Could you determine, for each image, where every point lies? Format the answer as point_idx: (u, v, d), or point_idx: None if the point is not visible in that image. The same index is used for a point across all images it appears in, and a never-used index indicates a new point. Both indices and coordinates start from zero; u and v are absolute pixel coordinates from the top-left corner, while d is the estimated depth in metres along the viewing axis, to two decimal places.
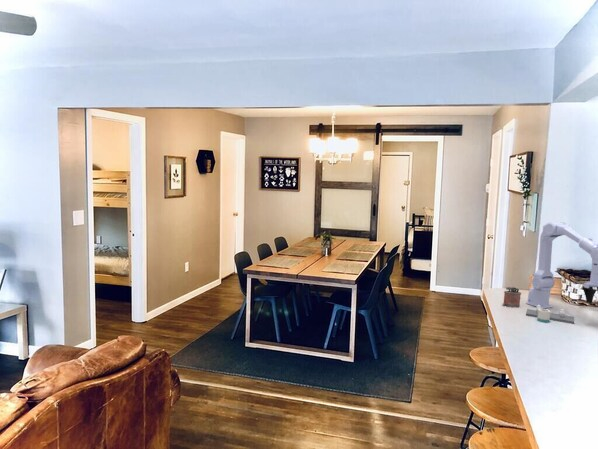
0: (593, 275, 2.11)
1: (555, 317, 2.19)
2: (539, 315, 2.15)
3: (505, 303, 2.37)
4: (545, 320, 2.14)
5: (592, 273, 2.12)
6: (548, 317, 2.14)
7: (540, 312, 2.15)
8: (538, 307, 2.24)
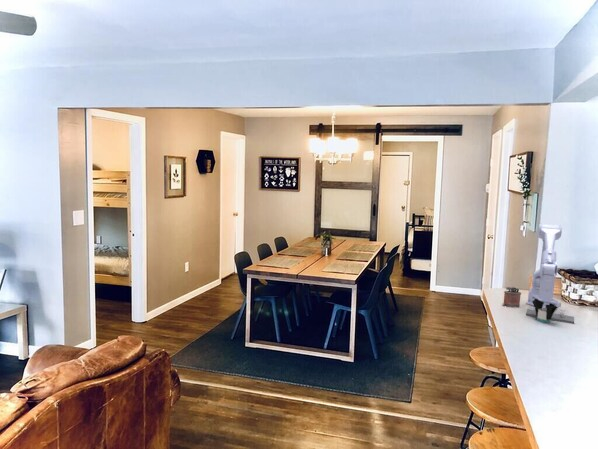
0: None
1: (555, 317, 2.19)
2: (539, 315, 2.15)
3: (505, 303, 2.37)
4: (545, 320, 2.14)
5: None
6: None
7: (540, 312, 2.15)
8: None
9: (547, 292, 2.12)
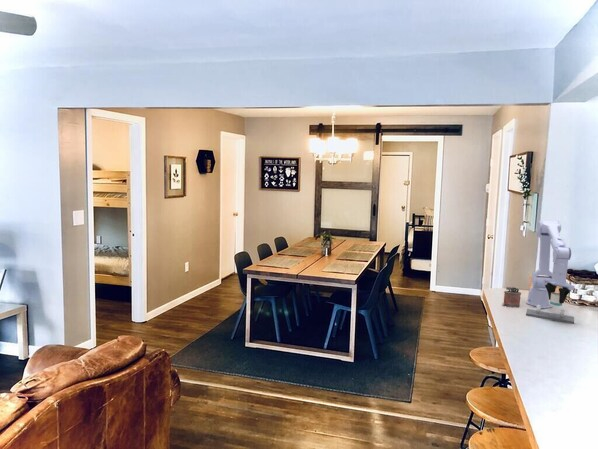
0: None
1: (555, 317, 2.19)
2: (552, 299, 2.17)
3: (505, 303, 2.37)
4: (558, 304, 2.15)
5: None
6: None
7: (553, 296, 2.16)
8: (538, 307, 2.24)
9: (560, 276, 2.13)
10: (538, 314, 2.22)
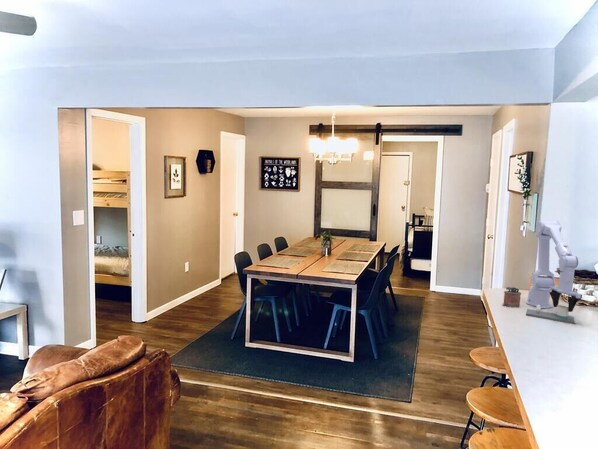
0: None
1: (555, 317, 2.19)
2: (558, 312, 2.19)
3: (505, 303, 2.37)
4: (564, 316, 2.17)
5: None
6: (567, 313, 2.17)
7: (559, 309, 2.18)
8: (538, 307, 2.24)
9: (566, 284, 2.15)
10: (538, 314, 2.22)
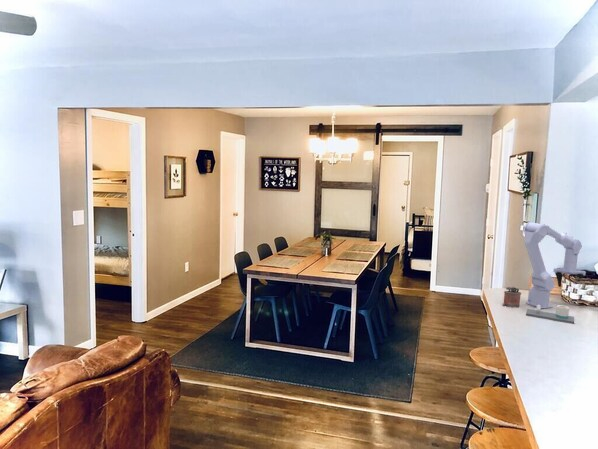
0: (564, 262, 2.43)
1: (555, 317, 2.19)
2: (558, 312, 2.19)
3: (505, 303, 2.37)
4: (564, 316, 2.17)
5: (564, 261, 2.44)
6: (567, 313, 2.17)
7: (559, 309, 2.18)
8: (538, 307, 2.24)
9: (575, 264, 2.40)
10: (538, 314, 2.22)
